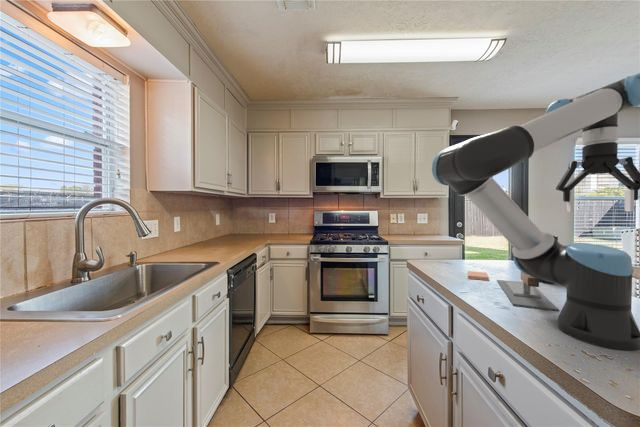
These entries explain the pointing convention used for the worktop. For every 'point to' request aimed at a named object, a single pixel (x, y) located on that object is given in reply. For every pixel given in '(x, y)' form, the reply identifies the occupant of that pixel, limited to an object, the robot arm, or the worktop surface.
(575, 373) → the worktop surface
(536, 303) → the rubber mat
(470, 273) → the terracotta tile
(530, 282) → the steel trowel
